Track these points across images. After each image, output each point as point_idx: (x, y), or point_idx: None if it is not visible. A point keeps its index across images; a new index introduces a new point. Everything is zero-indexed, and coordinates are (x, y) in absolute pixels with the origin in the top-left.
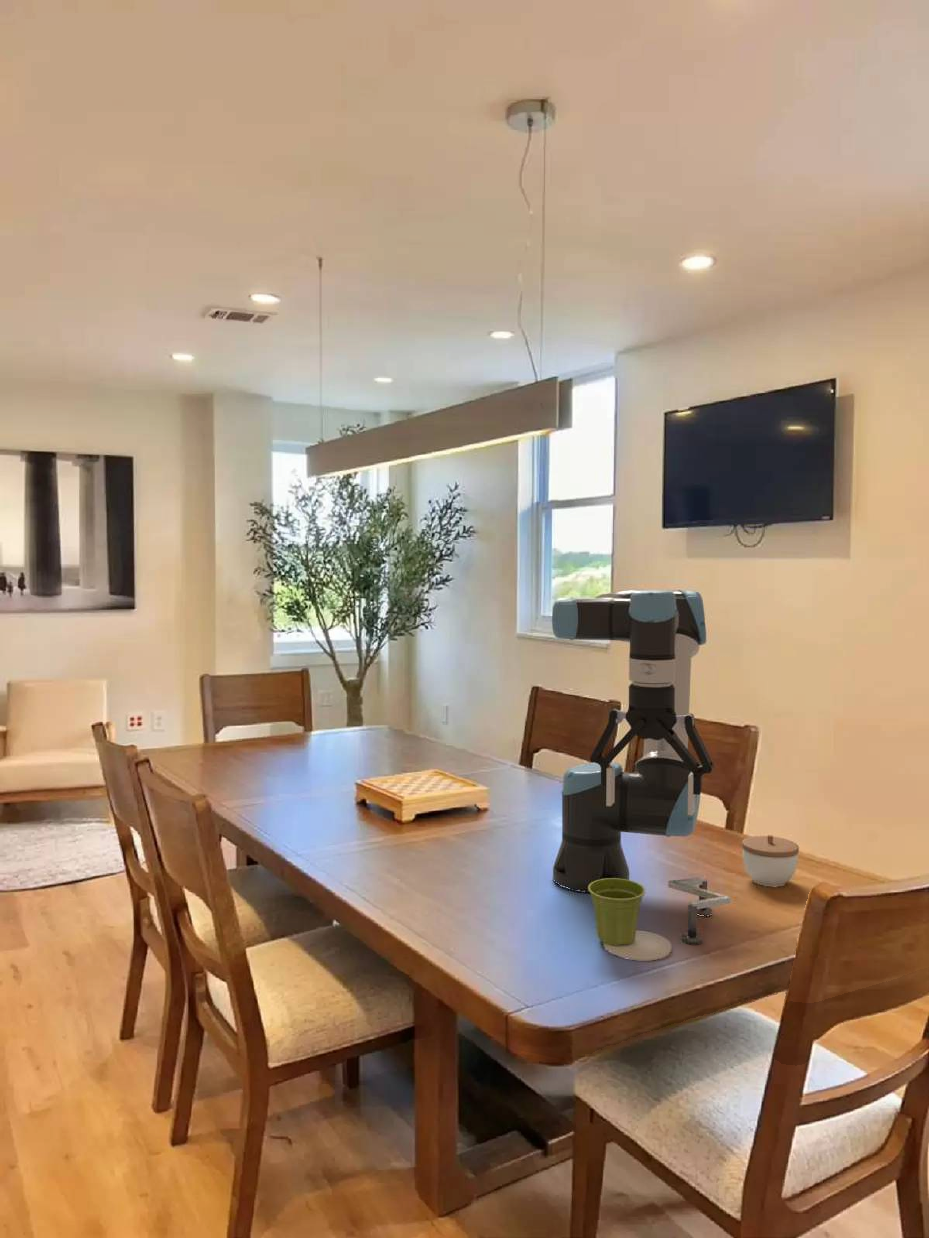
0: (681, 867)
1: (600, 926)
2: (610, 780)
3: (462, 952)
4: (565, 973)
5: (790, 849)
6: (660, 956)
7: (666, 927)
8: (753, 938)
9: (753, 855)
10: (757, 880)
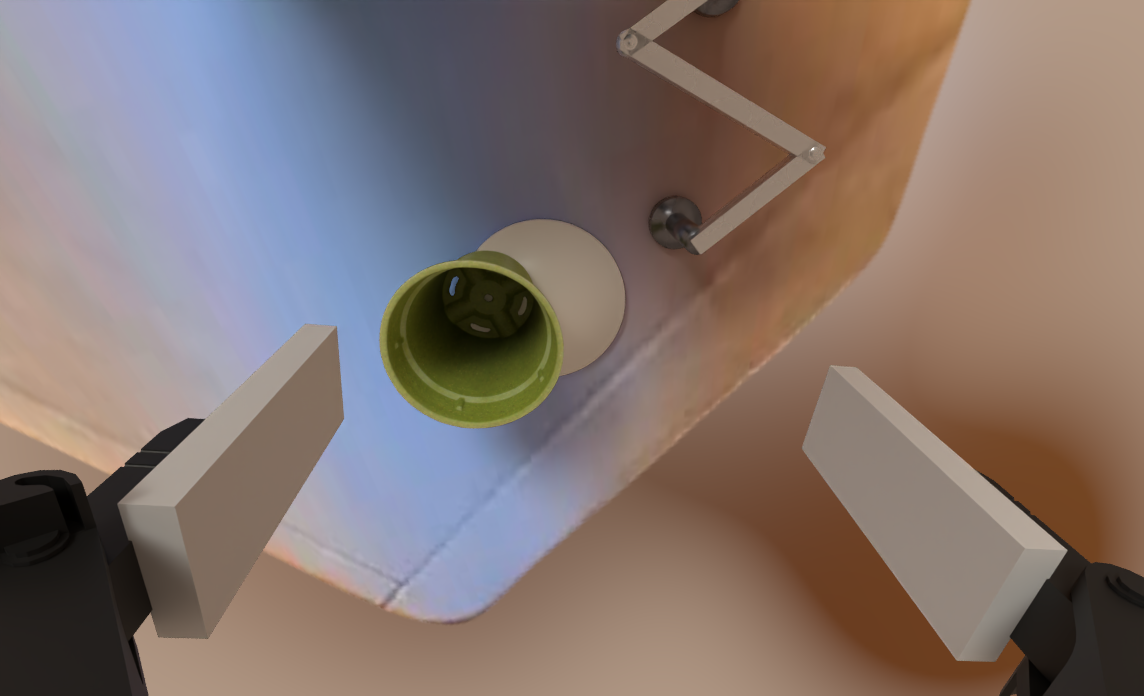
0: None
1: (450, 348)
2: (263, 542)
3: None
4: (423, 466)
5: None
6: (602, 352)
7: (604, 147)
8: (835, 152)
9: None
10: None
